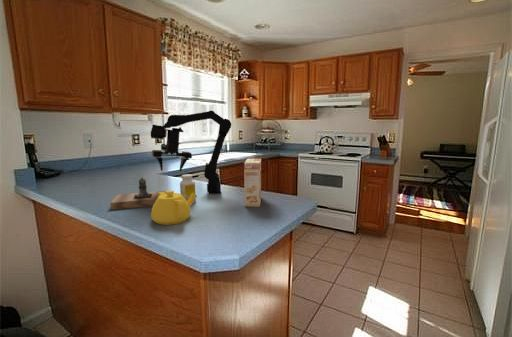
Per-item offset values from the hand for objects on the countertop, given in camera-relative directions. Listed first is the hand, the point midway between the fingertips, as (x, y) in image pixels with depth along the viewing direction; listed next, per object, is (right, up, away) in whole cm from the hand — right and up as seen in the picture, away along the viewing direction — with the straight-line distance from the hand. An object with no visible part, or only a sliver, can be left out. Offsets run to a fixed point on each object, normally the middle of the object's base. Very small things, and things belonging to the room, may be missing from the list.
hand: (171, 171), depth 133 cm
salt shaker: (-9, -15, -12) cm, 21 cm away
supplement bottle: (+12, -15, -12) cm, 22 cm away
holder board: (-9, -14, -12) cm, 21 cm away
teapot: (+12, -18, -32) cm, 38 cm away
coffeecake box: (+42, -14, -11) cm, 46 cm away
